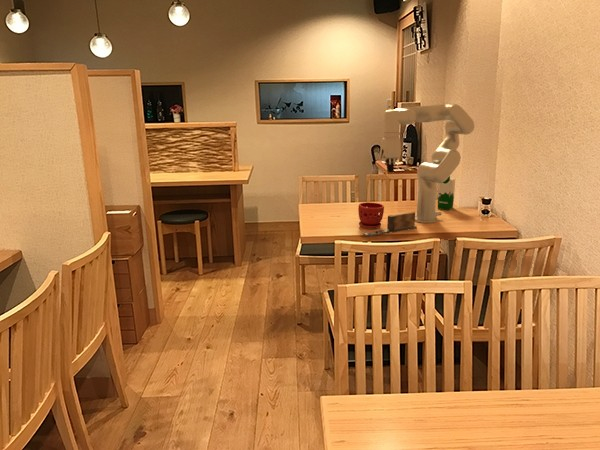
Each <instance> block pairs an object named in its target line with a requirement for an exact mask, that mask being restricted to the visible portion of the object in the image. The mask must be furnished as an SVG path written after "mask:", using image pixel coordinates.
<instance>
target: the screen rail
mask: <svg viewBox="0 0 600 450" xmlns="http://www.w3.org/2000/svg"><path fill="white" fill-rule="evenodd" d="M417 227H418V226H417V225H415V226H409V227H404V228H398V229H394V230H388V229H382V230H376V231H371V232H364V233H363V236H364V237H365V238H369V237H373V236H381V235H386V234H385V233H387V234H391V233H390V232H393V233H397V231H398V232H403V230H404V231H408V229H410V230H414V228H415V229H417Z"/></svg>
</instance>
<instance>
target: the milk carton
mask: <svg viewBox="0 0 600 450" xmlns="http://www.w3.org/2000/svg"><path fill="white" fill-rule="evenodd" d="M455 186H456V178H454V177H451V175H450V176H449V177H448V179H447V180H446V181H444V182H443V183H438V192H437V210H444V211H451V210H452V209H453V208H454V203H455V202H454V201H455V191H456V190H455V188H456V187H455Z"/></svg>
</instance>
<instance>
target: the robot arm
mask: <svg viewBox="0 0 600 450" xmlns="http://www.w3.org/2000/svg"><path fill="white" fill-rule="evenodd" d="M440 121H445V124H444V127H445V128H444V130H445V131H444V132H445V136H444V139H443V140H442V142H441V143H440V144H439V145H438V147H437V148H436V149H435V150H434V151H433V153H432V155H431V159H430V160H431V162H429V161H427V162H426V161H425V162H422V163H420V164H419V166H418V168H417V170H416V175H417V180H418V182H417V183H418V187H417V203H416V206H417V208H416V215H415V223H416V222H417V223H421V224H432V223H433V224H435V223H437V222H438V216H439V217H440V216H442V215H443V214H442V212H441V211H439V212H437V211H436V202H437V200H436V199H437V184H439V183H443V182H444V181H446V180H447V179H448V177H449V176H450V177H451V175H453V172H454V171H455V170H456V169H457V168H458V166H459V165H460V162H461V156H462V155H461V153H460V151H458V148H459V146H460V136H459V135H470V134H472V132H474V130H475V121H474V120H473V118H472V117H471V116H470V115H469V114H468V112H467V111H466V110H465V109H464V108H463V107H462V106H461V105H459V104H456V103H440V104H439V103H437V104H430V105H427V104H426V105H420V106H409V107H397V108H395V109H388V110H385V112H384V121H383V122H384V127H383V138H382V139H381V141H380V142H381V143H380V150H379V151H380V152H379V157H380V158H381V161H382V162H385V164H386V171H387V172H388V173H394V170H395V164H396V162H397V161H399V160H400V159H401V156H402V155H401V154H402V142H401V138H400V135H401V134H402V133H401V132H400V128H401V127H400V125H406V126H407V125H408V126H409V125H412V124H413V123H434V122H440Z"/></svg>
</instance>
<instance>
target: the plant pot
mask: <svg viewBox="0 0 600 450" xmlns="http://www.w3.org/2000/svg"><path fill="white" fill-rule="evenodd" d="M384 213H385V206H384V205H383V204H382V203H377V202H370V201H369V202H362V203H359V204H358V219H359V222H358V225H359V226H360V228H362V229H367V230H375V228H376V229H378V228H379V229H380V227H381V226H382V223H381V222H382V220H383V216H384Z"/></svg>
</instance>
